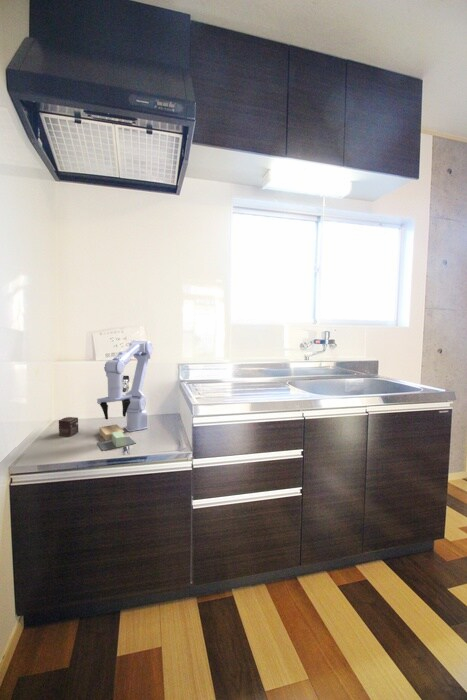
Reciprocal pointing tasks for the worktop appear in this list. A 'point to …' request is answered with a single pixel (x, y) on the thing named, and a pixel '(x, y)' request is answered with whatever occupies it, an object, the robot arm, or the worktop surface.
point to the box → (68, 426)
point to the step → (109, 431)
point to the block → (118, 439)
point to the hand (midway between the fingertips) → (115, 417)
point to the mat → (109, 444)
